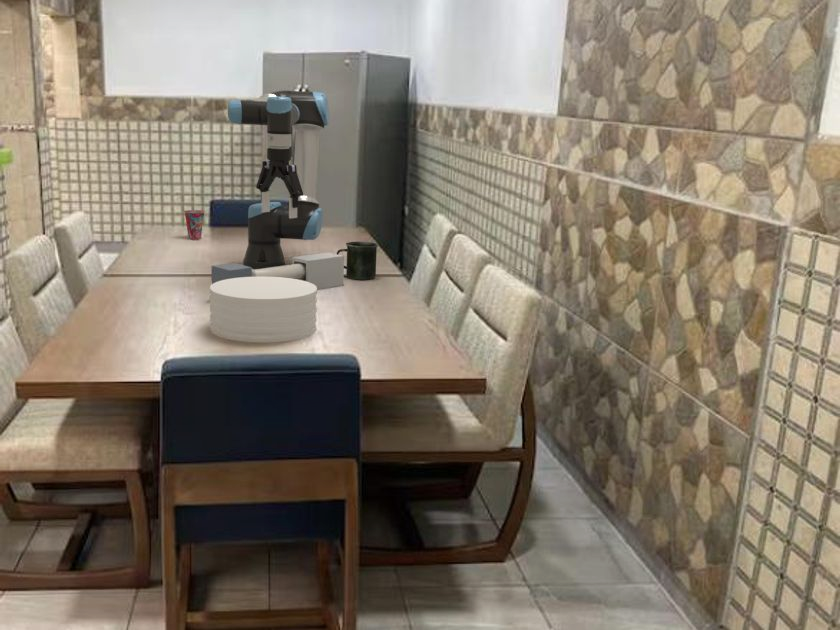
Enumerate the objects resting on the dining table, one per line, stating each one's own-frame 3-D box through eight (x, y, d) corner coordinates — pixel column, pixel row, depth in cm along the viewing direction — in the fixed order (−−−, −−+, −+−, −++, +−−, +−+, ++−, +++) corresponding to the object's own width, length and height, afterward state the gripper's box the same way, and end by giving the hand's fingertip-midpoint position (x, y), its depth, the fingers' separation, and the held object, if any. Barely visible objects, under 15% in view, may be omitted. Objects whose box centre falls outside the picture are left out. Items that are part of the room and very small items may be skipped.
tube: (302, 277, 279) (302, 258, 277) (315, 281, 275) (316, 261, 273) (222, 290, 255) (222, 269, 253) (235, 294, 251) (235, 272, 249)
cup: (202, 241, 356) (201, 212, 353) (182, 240, 356) (181, 211, 353) (207, 237, 365) (207, 210, 362) (188, 236, 365) (187, 209, 362)
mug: (376, 281, 293) (377, 247, 290) (334, 279, 292) (335, 245, 289) (377, 275, 303) (378, 242, 300) (336, 273, 303) (337, 240, 300)
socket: (233, 296, 260) (233, 262, 258) (251, 301, 254) (251, 267, 252) (211, 299, 254) (211, 265, 252) (230, 305, 249) (229, 270, 246)
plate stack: (221, 346, 208) (220, 301, 205) (202, 318, 233) (201, 278, 230) (329, 339, 219) (330, 296, 216) (300, 313, 244) (300, 274, 241)
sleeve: (327, 281, 289) (328, 252, 286) (343, 285, 284) (344, 255, 281) (291, 287, 277) (292, 257, 274) (307, 291, 272) (308, 260, 269)
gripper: (244, 144, 268) (245, 210, 273) (296, 151, 252) (295, 221, 258) (263, 143, 273) (263, 208, 279) (314, 150, 257) (314, 219, 263)
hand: (279, 215), depth 268 cm, fingers open, 13 cm apart
